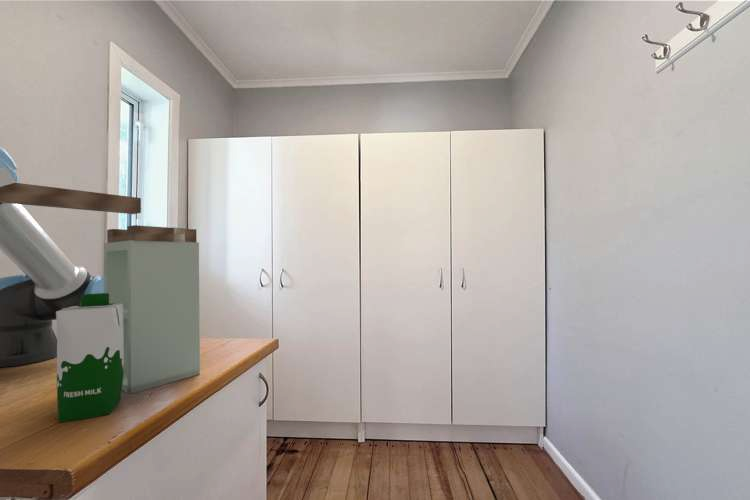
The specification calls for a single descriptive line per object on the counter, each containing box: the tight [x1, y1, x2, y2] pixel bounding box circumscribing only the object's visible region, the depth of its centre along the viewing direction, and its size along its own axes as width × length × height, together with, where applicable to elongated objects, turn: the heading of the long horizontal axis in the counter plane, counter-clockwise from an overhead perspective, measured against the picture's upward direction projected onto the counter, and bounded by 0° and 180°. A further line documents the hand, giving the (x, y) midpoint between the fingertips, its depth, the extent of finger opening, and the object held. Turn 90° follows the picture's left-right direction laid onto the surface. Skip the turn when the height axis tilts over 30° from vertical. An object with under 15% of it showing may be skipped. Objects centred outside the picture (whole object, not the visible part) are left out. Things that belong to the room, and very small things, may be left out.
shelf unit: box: [103, 240, 201, 395], centre depth 80 cm, size 14×13×30 cm
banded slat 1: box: [106, 228, 127, 243], centre depth 84 cm, size 13×3×3 cm, turn 145°
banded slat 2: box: [126, 224, 197, 242], centre depth 78 cm, size 13×3×3 cm, turn 149°
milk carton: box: [56, 293, 124, 423], centre depth 63 cm, size 9×9×20 cm
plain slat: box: [0, 182, 142, 215], centre depth 67 cm, size 28×3×3 cm, turn 146°
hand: (6, 176), depth 62 cm, fingers closed on plain slat, 3 cm apart
